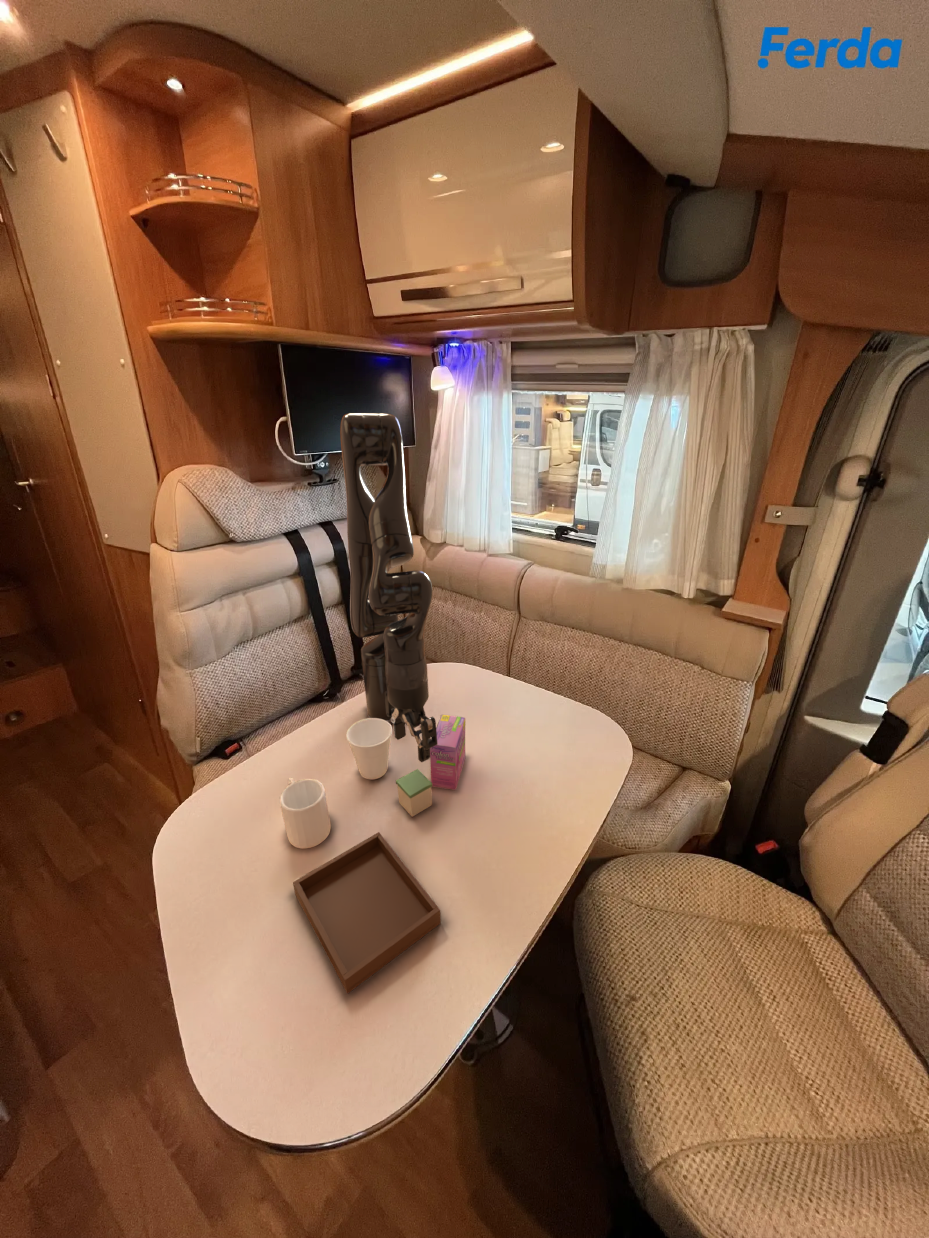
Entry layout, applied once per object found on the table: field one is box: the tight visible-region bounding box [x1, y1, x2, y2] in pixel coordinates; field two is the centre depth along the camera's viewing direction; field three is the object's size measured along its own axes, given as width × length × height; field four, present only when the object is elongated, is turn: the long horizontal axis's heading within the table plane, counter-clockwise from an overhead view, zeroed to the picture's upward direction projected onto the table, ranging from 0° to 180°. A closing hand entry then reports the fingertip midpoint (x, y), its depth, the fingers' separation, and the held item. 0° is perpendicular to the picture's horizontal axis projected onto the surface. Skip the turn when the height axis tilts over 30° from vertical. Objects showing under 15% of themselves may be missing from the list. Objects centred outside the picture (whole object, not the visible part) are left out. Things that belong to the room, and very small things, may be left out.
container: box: [395, 768, 433, 817], centre depth 102 cm, size 5×5×6 cm
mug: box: [279, 777, 332, 849], centre depth 97 cm, size 8×12×10 cm
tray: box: [292, 831, 442, 995], centre depth 82 cm, size 20×17×3 cm
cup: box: [345, 717, 393, 780], centre depth 110 cm, size 10×10×11 cm
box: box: [429, 714, 466, 791], centre depth 109 cm, size 10×6×12 cm, turn 168°
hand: (412, 748), depth 97 cm, fingers open, 8 cm apart
